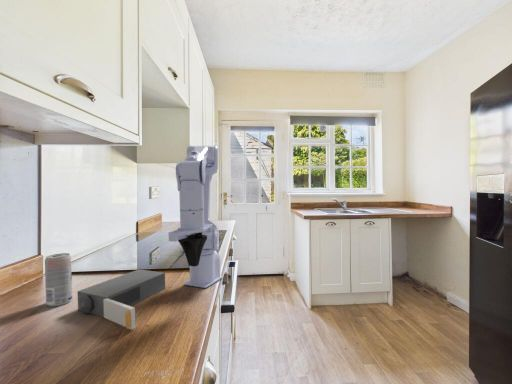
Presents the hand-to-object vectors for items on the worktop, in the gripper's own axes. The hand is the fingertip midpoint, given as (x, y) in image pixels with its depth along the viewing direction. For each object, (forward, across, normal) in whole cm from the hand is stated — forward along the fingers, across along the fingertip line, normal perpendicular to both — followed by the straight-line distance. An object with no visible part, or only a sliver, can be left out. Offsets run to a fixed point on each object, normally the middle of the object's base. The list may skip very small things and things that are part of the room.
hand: (193, 265), depth 65 cm
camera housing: (+9, +4, -19) cm, 22 cm away
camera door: (+9, +14, -9) cm, 19 cm away
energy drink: (+10, +12, -33) cm, 36 cm away
